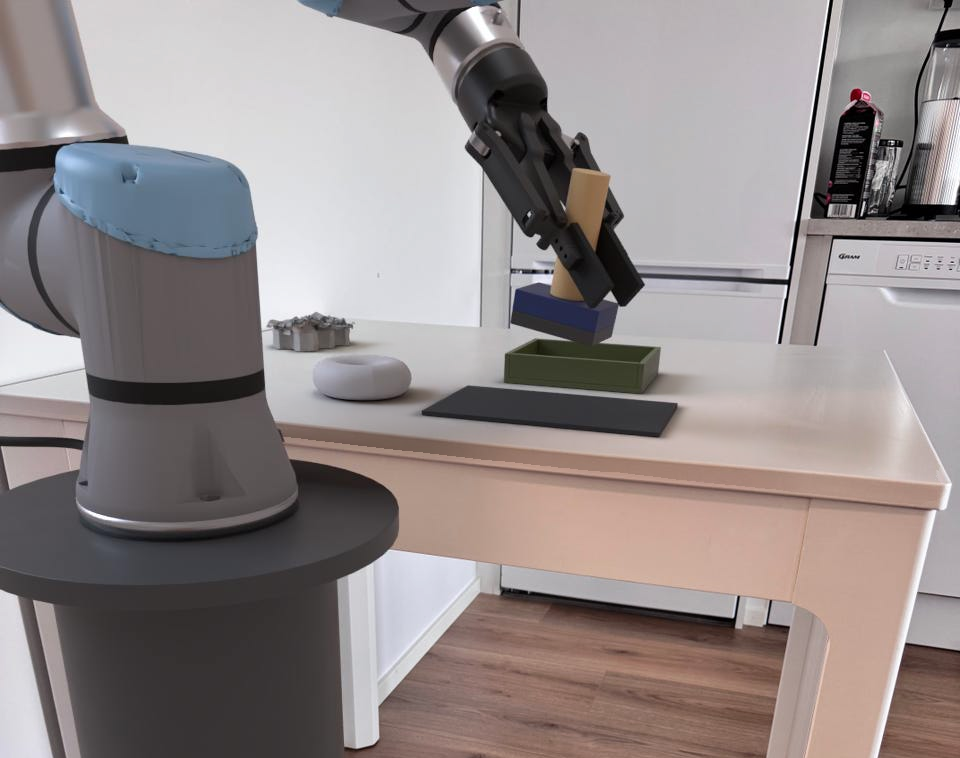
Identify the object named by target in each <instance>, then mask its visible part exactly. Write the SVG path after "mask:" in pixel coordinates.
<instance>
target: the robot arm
mask: <svg viewBox="0 0 960 758" xmlns="http://www.w3.org/2000/svg"><path fill="white" fill-rule="evenodd" d="M296 1H297V2H298V3H300V5H302V6H304V7H307V8H309V9H312V10H315V11H317V12H318V13H321V14H324V15H325V16H326V17H329V18H338V19H343V20H347V21H350V22H354V23H357V24H362V25H365V26H368V27H372V28H376V29H381V30H384V31H387V32H389V33H393V34H397V35H400V36H404V37H408V38H411V39H414V40H416V41H417V42H419V43H420V44H421V46H422V48H423V50H424V52H425V53H426V55H427V56H428V58H429V59H430V61H431V63H432V65H433V66H434V70H435V71H436V73H437V75H438V76H439V78H440V81H441V82H442V83H443V85H444V87H445V90H446V92H447V93H448V95H449V96H450V98H451V101H452V102H453V103H454V104H455V106H456V107H457V109H458V111H459V113H460V115H461V117H462V119H463V120H464V122H465V124H466V125H467V127H468V129H469V131H470V133H471V135H469V138H468V140H467V141H466V143H465V145H464V150H465V151H466V153H467V154H468V155H470V157H471V158H472V159H473V160H474V161H475V162H476V163H477V164H478V165H479V166H480V167H481V169H482V170H483V172H484V173H485V175H486V177H487V178H488V180H489V181H490V183H491V184H492V186H493V188H494V189H495V191H496V192H497V194H498V195H499V197H500V199H501V200H502V202H503V203H504V205H505V207H506V209H507V210H508V212H509V213H510V215H511V216H512V218H513V219H514V221H515V222H516V224H517V225H518V227H519V229H520V231H521V232H522V233H523V234H524V236H526V237H528V238H533V237H534V236H535V235H537V236H539V239H538V240H537V242H536V243H535V245H536V246H537V247H538V248H539V249H540V250H541V251H547V250H548V249H549V248H550V246H551V248H552V250H553V252H554V253H555V255H556V257H557V256H558V258H559V260H560V262H561V263H562V265H563V267H564V268H565V269H566V270H567V271H568V272H569V274H570V276H571V278H572V279H573V281H574V283H575V285H576V286H577V288H578V290H579V292H580V293H581V295H582V297H583V299H584V300H585V302H586V304H587V306H588V307H589V309H593V308H596V307H597V306H598V305H599V303H600V302H601V301H602V300H603V299H604V300H605V298H606V297H607V296H608V294H609V293H610V292H611V294H612V297H614V299H615V301H616V303H618V304H619V307H620V308H625V307H627V306H628V304H630V303H631V301H632V300H633V299H634V298H635V297H636V296H637V295H638V294H639V293H640V292H641V291H642V289H643V288H644V287H645V286H646V284H645V282H644V280H643V278H642V277H641V275H640V273H639V271H638V270H637V269H636V266H635V265H634V263H633V261H632V260H631V258H630V256H629V254H628V252H627V250H626V248H625V246H624V245H623V243H622V241H621V239H620V238H619V236H618V235H617V233H616V231H615V229H616V228H617V227H618V225H619V224H620V223H621V222H622V220H624V218H625V214H624V212H623V210H622V209H621V207H620V204H619V202H618V200H617V199H616V197H615V195H614V194H613V191H612V189H611V188H610V186H609V187H608V192H607V197H606V202H605V207H604V212H603V216H602V221H601V226H600V231H599V236H598V241H597V246H596V251H594V250H593V248H592V246H591V244H590V243H589V241H588V239H587V238H586V236H585V234H584V232H583V231H582V229H581V227H580V225H579V224H578V223H574V222H572V223H571V224H570V225H569V227H568V228H567V226H566V224H567V222H568V218H567V215H566V213H565V208H566V203H567V197H568V192H569V186H570V181H571V175H572V170H573V168H581V169H588V170H594V171H599V172H602V171H601V169H600V167H599V164H598V163H597V161H596V158H594V155H593V154H592V149H591V146H590V140H589V138H588V137H587V135H586V134H585V133H583V132H581V131H578V132H577V133H576V135H575V136H574V138H573V137H571V136H570V135H569V136H568V135H567V134H565V133H563V130H562V128H561V126H560V124H559V122H557V121H556V120H555V119H554V118H553V116H552V115H551V114H550V113H549V110H548V98H549V89H548V85H547V82H546V80H545V78H544V77H543V75H542V74H541V72H540V70H539V68H538V66H537V65H536V63H535V62H534V60H533V58H532V56H531V55H530V54H529V52H528V51H526V48H525V45H523V43H522V41H521V39H520V38H519V36H518V34H517V33H516V31H515V29H514V28H513V26H512V23H510V21H509V19H508V17H507V13H506V11H505V10H504V9H503V8H502V7H501V5H500V3H499V2H503V1H504V0H296ZM93 88H94V87H93V84H92V80H91V76H90V71H89V68H88V65H87V60H86V56H85V52H84V48H83V43H82V39H81V36H80V32H79V27H78V23H77V19H76V15H75V11H74V8H73V3H72V0H0V308H1V309H2V310H4V311H5V312H6V313H8V314H10V315H11V316H13V317H15V318H16V319H18V320H19V321H20V322H23V323H26V324H28V325H30V326H32V328H34V329H36V330H38V331H42V332H45V333H48V334H51V335H55V336H61V337H62V336H65V337H69V338H76V339H79V340H80V344H81V352H82V357H83V358H82V359H83V364H84V371H85V376H86V383H87V390H88V399H89V411H88V415H87V422H86V428H85V433H84V439H79V438H72V437H63V436H62V437H61V436H60V437H59V436H57V437H56V436H11V435H9V436H5V435H0V447H4V448H5V447H9V448H16V447H18V448H62V449H72V450H77V451H81V456H80V464H79V469H80V472H79V476H78V478H77V482H76V503H77V510H78V516H79V520H80V521H81V523H82V524H84V525H85V526H86V527H88V528H89V529H91V530H93V531H96V532H98V533H101V534H104V535H108V536H112V537H117V538H122V539H129V540H137V541H150V542H188V541H202V540H212V539H220V538H226V537H232V536H238V535H242V534H247V533H251V532H255V531H258V530H262V529H265V528H268V527H270V526H273V525H275V524H278V523H280V522H282V521H284V520H285V519H287V518H288V517H290V516H291V515H292V514H294V513H295V511H296V510H297V508H298V505H299V499H298V485H297V483H296V476H295V472H294V470H293V467H292V466H291V463H290V460H289V459H290V458H289V455H288V452H287V448H286V446H285V443H286V442H285V441H286V440H285V439H284V436H283V433H282V430H281V429H279V428H278V427H277V424H276V421H275V419H274V416H273V414H272V411H271V409H270V406H269V403H268V399H267V391H266V376H265V375H266V374H265V361H264V360H265V359H264V344H263V331H262V315H261V299H260V287H259V271H258V270H259V269H258V254H257V240H258V238H259V230H258V229H259V228H258V225H257V221H256V216H255V210H254V206H253V199H252V198H253V197H252V193H251V187H250V183H249V181H248V179H247V177H246V175H245V173H244V172H243V171H242V170H241V169H240V168H239V167H238V166H236V165H235V164H234V163H232V162H230V161H228V160H225V159H223V158H220V157H216V156H211V155H209V154H207V155H206V154H202V153H197V152H192V151H185V150H174V149H169V148H165V147H157V146H148V145H138V144H130V142H129V139H128V135H127V132H126V129H125V128H124V127H123V126H122V125H120V124H119V123H118V122H117V121H116V120H115V119H113V118H112V117H111V116H109V115H108V113H106V112H105V111H103V110H102V109H101V107H100V105H99V104H98V102H97V100H96V97H95V93H94V89H93ZM528 214H530V215H528Z"/></svg>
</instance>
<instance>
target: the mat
mask: <svg viewBox="0 0 960 758" xmlns="http://www.w3.org/2000/svg"><path fill="white" fill-rule="evenodd" d="M678 405H679V403H678V402H671V401H658V400H647V399H634V398H624V397H623V398H621V397H612V396H611V397H610V396H600V395H588V394H587V395H585V394H575V393H564V392H551V391H539V390H529V389H528V390H527V389H518V388H517V389H515V388H504V387H494V386H482V385H481V386H480V385H466V386H464V387H462V388H460V389H459V390H457V391H455V392H453V393H451V394H450V395H448V396H445V397H444V398H442V399H440V400H439V401H436V402H435V403H433V404H431V405H430V406H428V407H425V408H424V409H422V410H421V415H422V416H429V417H440V418H453V419H460V420H461V419H462V420H471V421H472V420H473V421H484V422H493V423H494V422H495V423H506V424H516V425H524V426H525V425H526V426H537V427H548V428H558V429H569V430H580V431H589V432H590V431H592V432H599V433H609V434H621V435H633V436H643V437H653V438H659V437H660V435H661V434H662V433H663V430H664V429H665V427H666V426H667V424H668V423H669V421H670V420H671V418H672V416H673V415H674V413H675V412H676V410H677V409H678Z"/></svg>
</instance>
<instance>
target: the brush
mask: <svg viewBox="0 0 960 758" xmlns="http://www.w3.org/2000/svg"><path fill="white" fill-rule="evenodd" d="M611 178H612V177H611V174H610V173H606V172H603V171H601V172H599V171H594V170H588V169H581V168H573V170H572V175H571V181H570V186H569V192H568V197H567V203H566V208H565V207H564V211H565V213H566V215H567V218H568V222H567V224H566V226H567V228H568V227H569V225H570V224H571V223H572V222H574V223H578V224H579V225H580V227H581V229H582V231H583V232H584V234H585V236H586V238H587V239H588V241H589V243H590V244H591V246H592V248H593V250H594V251H596V246H597V241H598V236H599V231H600V226H601V221H602V216H603V212H604V207H605V202H606V197H607V192H608V187H610V183H611V182H610V181H611ZM554 263H555V264H554V269H553V274H552V280H551V284H546V283H544V282H539V281H538V282H535V283H531V284H528V285H524V286H521V287H518V288H515V290H514V297H513V302H512V308H511V314H510V315H511V316H510V321H509V323H510V324H511V325H514V326H518V327H521V328H525V329H528V330H532V331H536V332H539V333H543V334H546V335H550V336H554V337H555V338H560V339H562V340H566V341H574V342H577V343H581V344H584V345H588V346H594V345H596V344H598V343H603V341H607V340H609V339H611V338H612V337H613V332H614V328H615V324H616V320H617V315H618V311H619V307H620V306H619V304H618V303H617V302H615V301H611V300H607V299H605V298H604V299H603V300H602V301H601V302H600V303H599V305H598V306H597V307H596V308H593V309H589V307H588V306H587V304H586V302H585V300H584V299H583V297H582V295H581V293H580V292H579V290H578V288H577V286H576V285H575V283H574V281H573V279H572V278H571V276H570V274H569V272H568V271H567V270H566V269H565V268H564V267H563V265H562V263H561V262H560V260H559V258H558V256H557V255H556V258H555V262H554Z"/></svg>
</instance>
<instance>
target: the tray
mask: <svg viewBox="0 0 960 758" xmlns="http://www.w3.org/2000/svg"><path fill="white" fill-rule="evenodd" d="M661 351H662V346H650V345H638V344H637V345H636V344H625V343H623V344H622V343H608V342H600V343H598V344H596V345H594V346H588V345H584V344H581V343H577V342H574V341H570V340H567V339H549V338H536V337H535V338H533V339H531V340H528V341H526V342H524V343H523V344H521V345H519V346H517V347H515V348H513V349H511V350H509V351H507V352H504V362H503V363H504V365H503V366H504V368H503V383H506V384H517V385H518V384H520V385H532V386H541V387H542V386H545V387H555V388H567V389H579V390H591V391H603V392H615V393H626V394H627V393H628V394H637V395H639V394H640V395H642V394H643V392H644V391H645V390H646V389H647V388H648V387H649V386H650V385H651V383H652V382H653V381H654V380H655V378H657V376H658V375H659V370H660V369H659V368H660V360H661Z"/></svg>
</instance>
